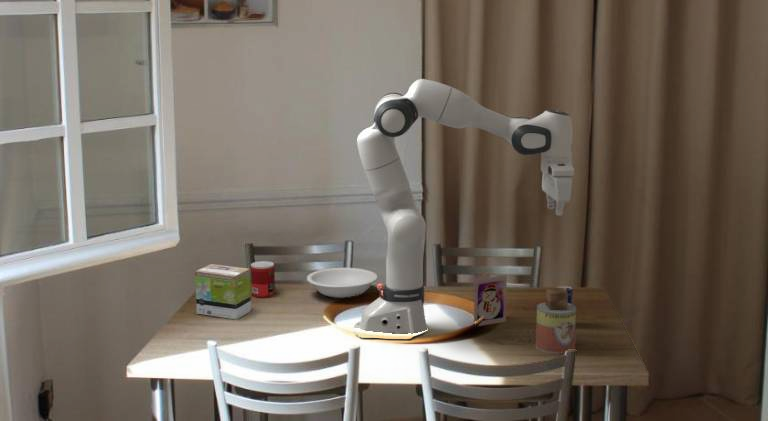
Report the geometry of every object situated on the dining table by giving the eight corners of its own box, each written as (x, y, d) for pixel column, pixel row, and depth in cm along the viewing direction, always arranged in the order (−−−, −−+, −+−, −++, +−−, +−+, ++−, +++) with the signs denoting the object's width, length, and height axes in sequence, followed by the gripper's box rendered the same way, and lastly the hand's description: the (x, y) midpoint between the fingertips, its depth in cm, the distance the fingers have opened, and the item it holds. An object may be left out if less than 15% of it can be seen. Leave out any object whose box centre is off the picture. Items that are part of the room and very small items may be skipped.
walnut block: (550, 310, 294) (550, 293, 293) (545, 305, 299) (546, 288, 298) (567, 309, 294) (567, 292, 293) (562, 304, 299) (563, 287, 298)
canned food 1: (273, 298, 348) (272, 266, 345) (250, 298, 348) (249, 266, 346) (276, 291, 355) (275, 261, 353) (253, 292, 355) (252, 261, 353)
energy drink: (571, 328, 315) (572, 290, 312) (553, 327, 316) (554, 289, 314) (571, 323, 320) (572, 285, 318) (554, 322, 321) (555, 284, 319)
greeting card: (475, 327, 316) (476, 280, 313) (463, 320, 323) (463, 274, 320) (507, 322, 321) (508, 275, 318) (494, 315, 328) (495, 270, 325)
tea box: (195, 315, 330) (193, 270, 327) (212, 306, 339) (210, 262, 336) (236, 320, 325) (234, 275, 322) (252, 311, 334) (250, 267, 331)
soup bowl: (315, 284, 364) (314, 266, 363) (382, 286, 361) (382, 268, 360) (300, 304, 341) (299, 285, 340) (372, 307, 338) (371, 287, 336)
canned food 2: (549, 355, 292) (550, 315, 289) (528, 343, 302) (529, 304, 299) (582, 350, 296) (584, 309, 294) (560, 338, 306) (562, 299, 304)
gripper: (537, 160, 311) (536, 205, 314) (554, 171, 291) (552, 219, 294) (557, 159, 312) (556, 204, 315) (576, 171, 292) (574, 218, 295)
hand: (554, 211), depth 304 cm, fingers open, 8 cm apart
